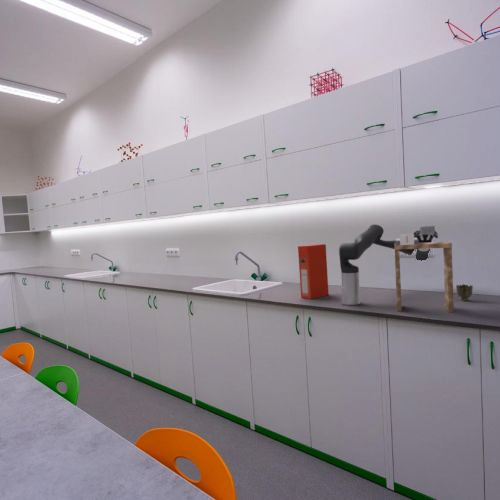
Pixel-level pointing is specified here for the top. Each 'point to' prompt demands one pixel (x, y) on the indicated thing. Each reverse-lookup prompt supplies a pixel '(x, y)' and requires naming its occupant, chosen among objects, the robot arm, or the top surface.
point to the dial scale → (407, 240)
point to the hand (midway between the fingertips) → (425, 228)
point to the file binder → (313, 271)
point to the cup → (464, 292)
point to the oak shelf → (447, 270)
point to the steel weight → (427, 230)
